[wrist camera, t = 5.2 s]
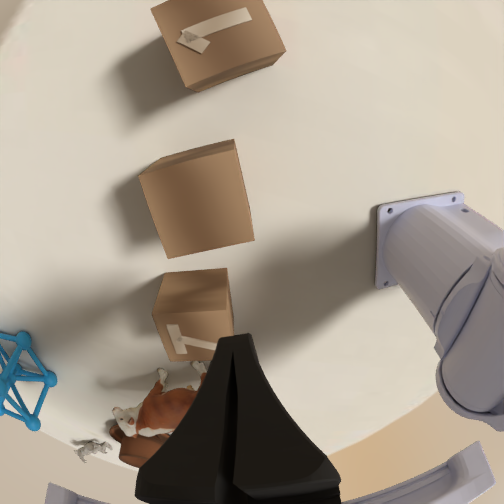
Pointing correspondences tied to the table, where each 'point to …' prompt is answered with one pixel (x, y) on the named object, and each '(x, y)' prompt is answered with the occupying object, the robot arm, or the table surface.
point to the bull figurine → (159, 408)
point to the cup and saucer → (137, 446)
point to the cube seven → (193, 313)
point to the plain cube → (198, 199)
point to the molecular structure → (14, 371)
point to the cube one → (218, 39)
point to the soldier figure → (91, 449)
